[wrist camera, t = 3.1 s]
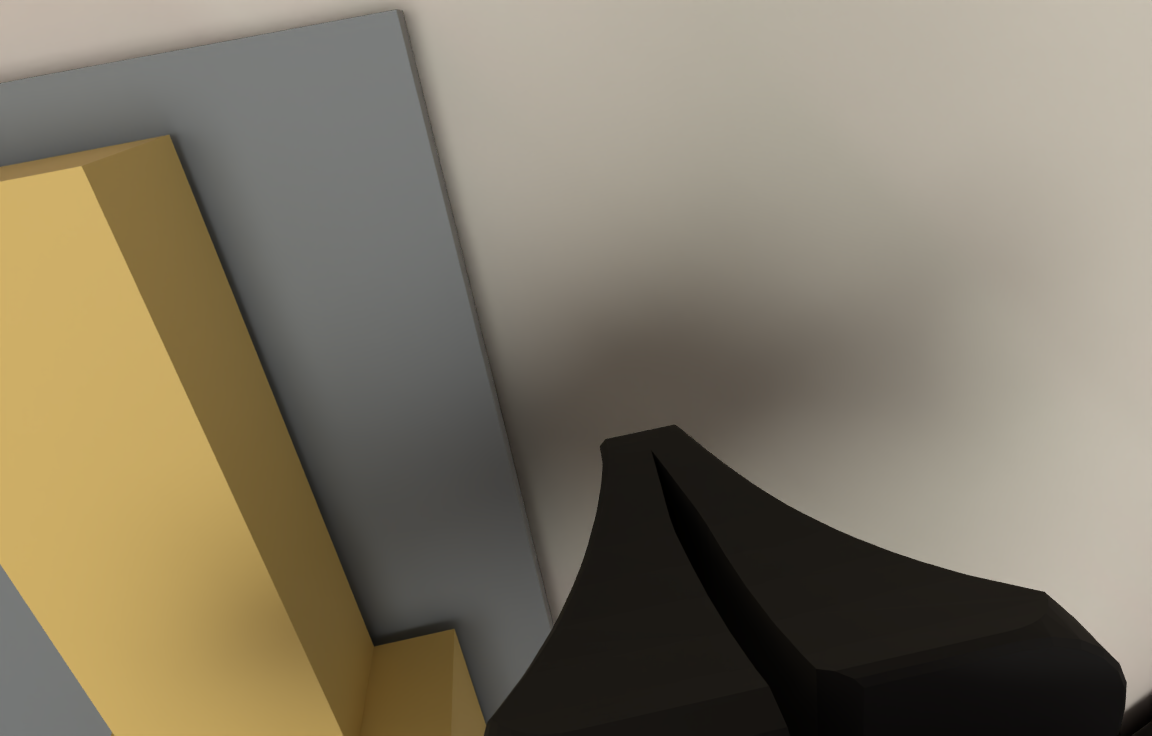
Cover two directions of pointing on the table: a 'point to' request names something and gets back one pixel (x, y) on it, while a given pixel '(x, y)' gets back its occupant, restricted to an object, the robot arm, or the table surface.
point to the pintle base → (323, 329)
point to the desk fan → (1145, 730)
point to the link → (174, 480)
